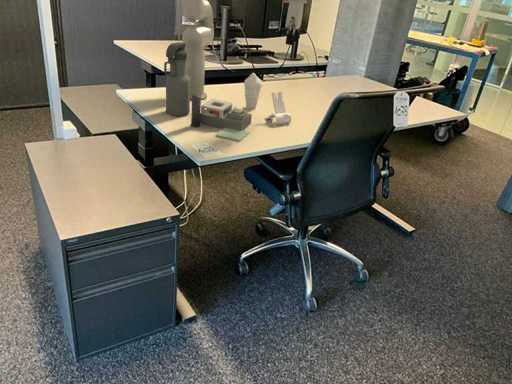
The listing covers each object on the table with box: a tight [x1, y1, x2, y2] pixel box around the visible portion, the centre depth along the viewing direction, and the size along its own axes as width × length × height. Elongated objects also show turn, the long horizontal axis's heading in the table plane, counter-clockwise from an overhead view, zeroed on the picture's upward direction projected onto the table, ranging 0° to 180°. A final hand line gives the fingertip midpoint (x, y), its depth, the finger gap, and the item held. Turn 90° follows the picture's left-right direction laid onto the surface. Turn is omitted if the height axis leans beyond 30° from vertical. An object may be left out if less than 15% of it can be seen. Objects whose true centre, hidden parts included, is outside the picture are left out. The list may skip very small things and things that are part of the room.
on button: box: [233, 106, 244, 114], centre depth 167 cm, size 4×4×2 cm
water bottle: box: [163, 41, 191, 117], centre depth 171 cm, size 10×10×28 cm
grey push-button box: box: [200, 98, 253, 131], centre depth 170 cm, size 18×12×7 cm, turn 72°
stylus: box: [190, 95, 202, 128], centre depth 163 cm, size 3×3×12 cm
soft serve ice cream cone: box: [243, 72, 263, 110], centre depth 190 cm, size 8×8×16 cm
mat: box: [215, 128, 250, 142], centre depth 161 cm, size 10×10×1 cm
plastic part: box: [263, 91, 292, 126], centre depth 178 cm, size 8×10×12 cm
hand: (291, 43), depth 175 cm, fingers open, 9 cm apart
